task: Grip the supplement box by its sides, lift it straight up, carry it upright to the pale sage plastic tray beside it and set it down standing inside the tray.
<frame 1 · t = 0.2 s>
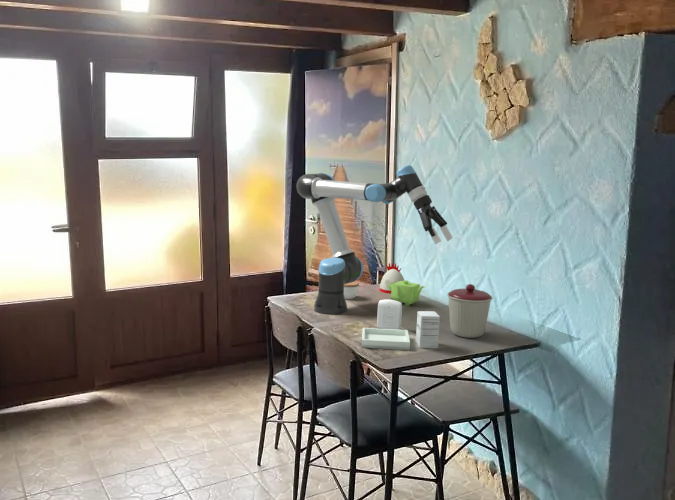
hand: (444, 241, 269), 36 cm above the table, tool tilted 35°, fingers open, 13 cm apart
tray: (385, 342, 245), on the table
supplement box: (426, 345, 243), on the table
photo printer: (388, 329, 263), on the table
canister: (467, 334, 259), on the table
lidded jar: (347, 298, 313), on the table
kettle: (404, 303, 306), on the table
kitchen timer: (392, 291, 332), on the table
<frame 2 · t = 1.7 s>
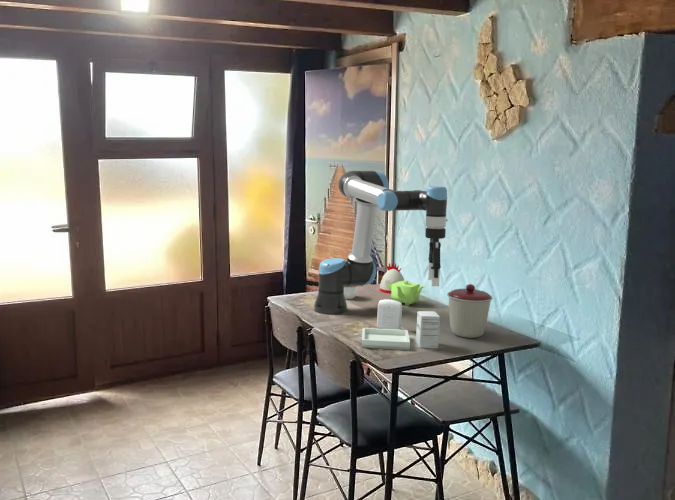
hand: (433, 282, 241), 24 cm above the table, tool pointing down, fingers open, 13 cm apart
nothing on the table moved.
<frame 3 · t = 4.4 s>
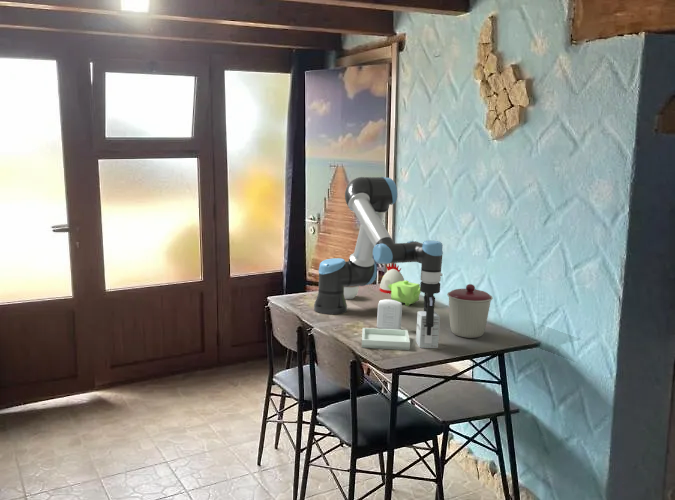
hand: (426, 339, 243), 2 cm above the table, tool pointing down, fingers closed on supplement box, 8 cm apart
supplement box: (426, 345, 243), on the table, touching gripper
everything else where it was.
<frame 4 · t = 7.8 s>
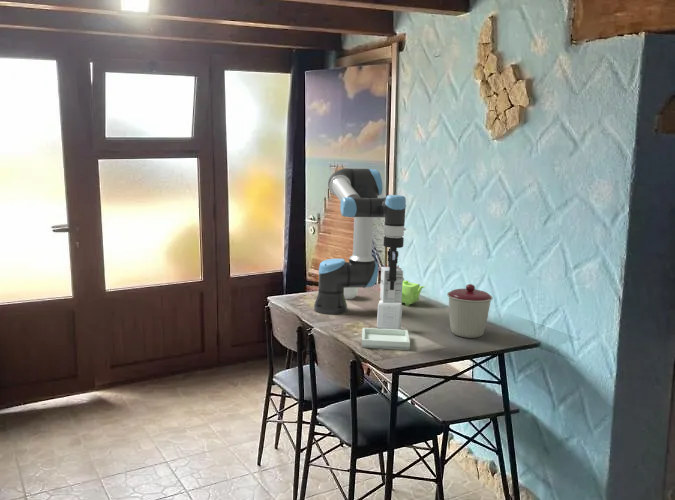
hand: (390, 295, 242), 19 cm above the table, tool pointing down, fingers closed on supplement box, 8 cm apart
supplement box: (390, 301, 242), point 16 cm above the table, touching gripper
everything else where it was.
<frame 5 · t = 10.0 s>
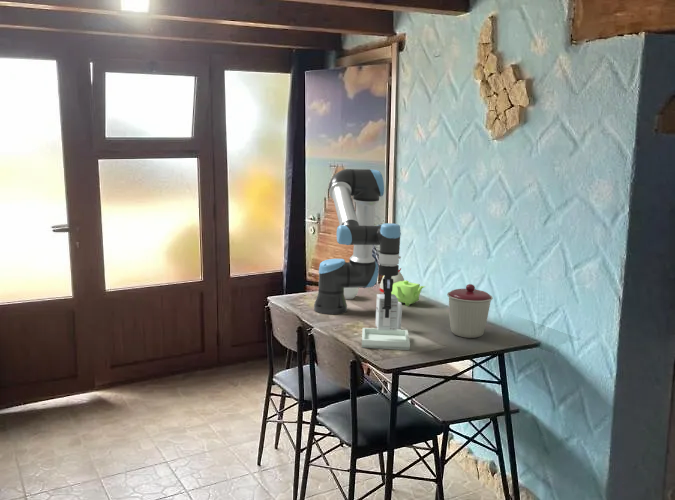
hand: (386, 322, 243), 8 cm above the table, tool pointing down, fingers closed on supplement box, 8 cm apart
supplement box: (385, 328, 244), point 6 cm above the table, touching gripper
everything else where it was.
when the fingers open (5 cm above the table, at t = 11.5 s): supplement box drops 2 cm, resting on tray.
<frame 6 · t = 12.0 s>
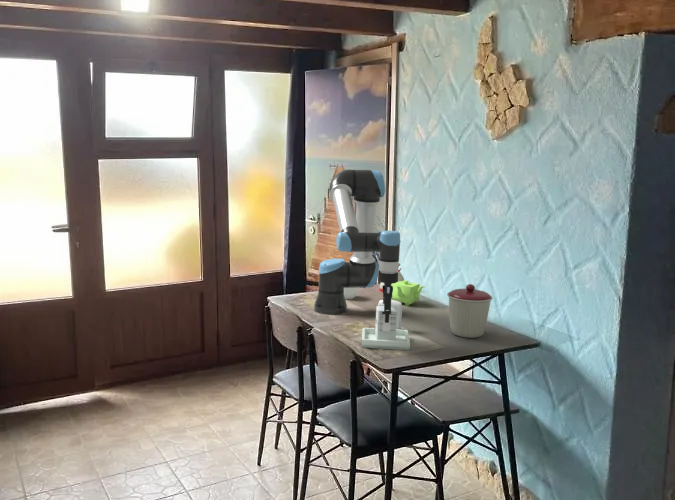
hand: (385, 325, 243), 7 cm above the table, tool pointing down, fingers open, 13 cm apart
supplement box: (385, 340, 244), point 1 cm above the table, touching tray
everything else where it was.
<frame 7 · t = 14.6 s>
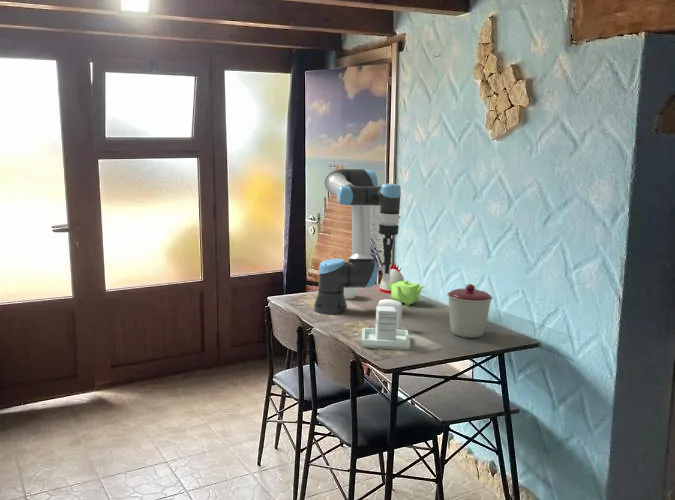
hand: (385, 277, 248), 24 cm above the table, tool pointing down, fingers open, 13 cm apart
nothing on the table moved.
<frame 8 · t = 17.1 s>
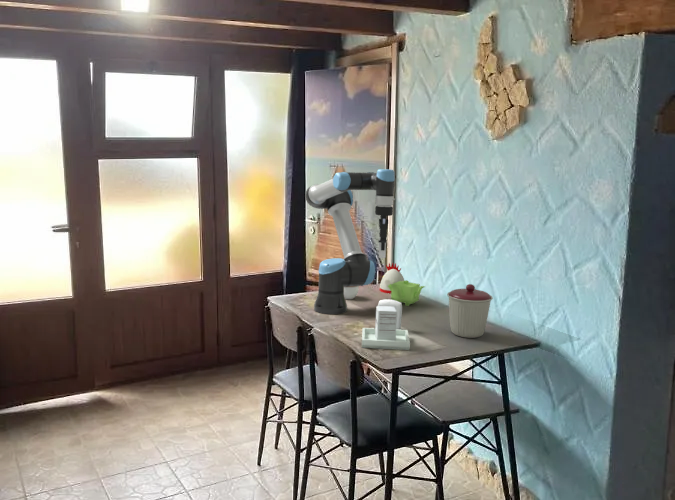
hand: (381, 255, 271), 29 cm above the table, tool pointing down, fingers open, 13 cm apart
nothing on the table moved.
at the end: supplement box inside the target area on the tray (0.3 cm from its centre), point 0.8 cm above the tray's base; supplement box tilted 0°; the gripper is holding nothing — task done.
